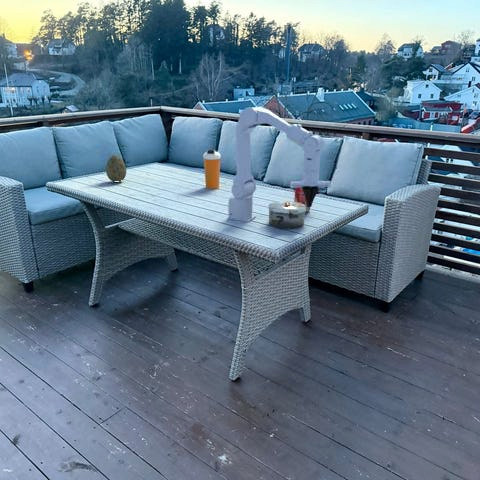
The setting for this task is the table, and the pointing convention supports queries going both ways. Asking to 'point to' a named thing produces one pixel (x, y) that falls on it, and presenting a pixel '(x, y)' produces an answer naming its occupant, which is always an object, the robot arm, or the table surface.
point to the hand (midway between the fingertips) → (308, 206)
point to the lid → (287, 208)
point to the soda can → (300, 197)
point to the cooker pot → (286, 220)
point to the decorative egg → (115, 168)
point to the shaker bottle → (212, 168)
